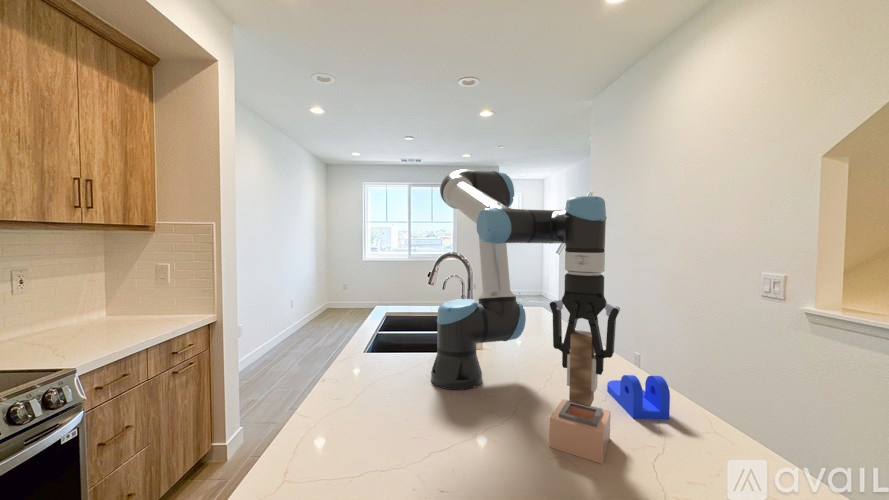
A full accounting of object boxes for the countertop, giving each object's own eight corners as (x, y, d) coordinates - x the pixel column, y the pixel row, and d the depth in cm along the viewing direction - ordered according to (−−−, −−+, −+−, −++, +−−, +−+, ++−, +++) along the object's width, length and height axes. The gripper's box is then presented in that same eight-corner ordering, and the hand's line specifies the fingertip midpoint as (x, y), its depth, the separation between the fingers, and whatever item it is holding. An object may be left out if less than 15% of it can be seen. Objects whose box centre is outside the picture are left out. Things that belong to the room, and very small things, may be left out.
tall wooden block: (569, 402, 73) (570, 334, 72) (573, 394, 76) (574, 329, 76) (590, 407, 71) (591, 337, 70) (593, 399, 74) (595, 332, 73)
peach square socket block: (549, 446, 72) (549, 414, 72) (561, 424, 81) (562, 396, 81) (602, 463, 67) (603, 429, 67) (609, 438, 75) (610, 408, 75)
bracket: (669, 420, 84) (670, 382, 83) (633, 419, 84) (634, 381, 84) (631, 387, 102) (632, 356, 101) (602, 387, 102) (603, 356, 101)
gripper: (537, 272, 74) (535, 383, 75) (629, 277, 65) (626, 403, 66) (547, 269, 80) (546, 371, 81) (633, 274, 71) (630, 389, 72)
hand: (581, 385), depth 73 cm, fingers closed on tall wooden block, 4 cm apart
